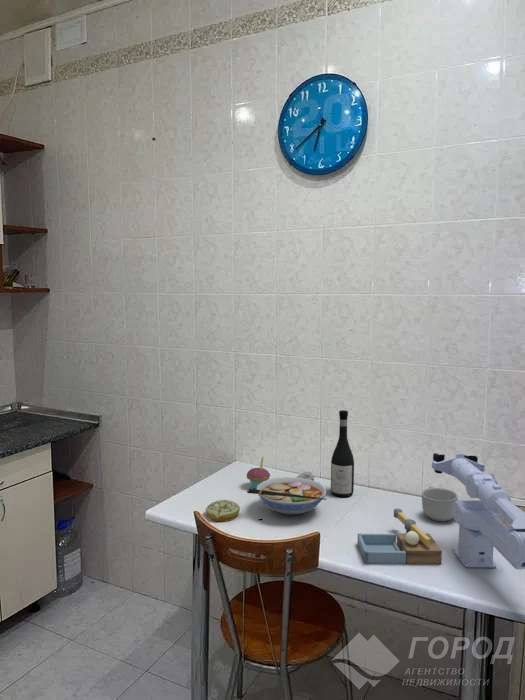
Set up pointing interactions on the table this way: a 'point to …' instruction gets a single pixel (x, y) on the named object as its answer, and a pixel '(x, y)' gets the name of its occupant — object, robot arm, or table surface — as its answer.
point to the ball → (412, 538)
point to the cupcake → (257, 475)
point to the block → (419, 551)
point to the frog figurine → (306, 476)
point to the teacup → (438, 503)
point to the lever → (412, 526)
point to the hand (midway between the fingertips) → (446, 456)
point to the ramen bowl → (290, 494)
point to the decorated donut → (222, 510)
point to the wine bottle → (342, 462)
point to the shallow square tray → (380, 549)
